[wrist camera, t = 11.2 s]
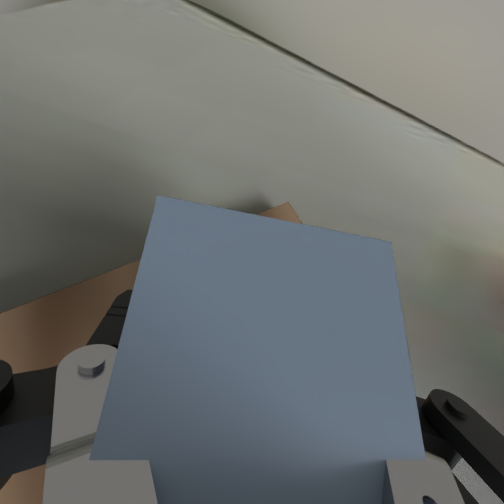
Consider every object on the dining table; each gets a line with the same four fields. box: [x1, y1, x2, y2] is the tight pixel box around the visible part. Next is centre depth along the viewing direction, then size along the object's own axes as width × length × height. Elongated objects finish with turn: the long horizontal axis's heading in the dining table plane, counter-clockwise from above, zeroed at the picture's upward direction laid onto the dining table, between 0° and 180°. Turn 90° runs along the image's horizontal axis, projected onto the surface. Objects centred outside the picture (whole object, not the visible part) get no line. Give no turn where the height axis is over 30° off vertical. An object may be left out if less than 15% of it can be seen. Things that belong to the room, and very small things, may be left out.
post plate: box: [0, 202, 302, 504], centre depth 14 cm, size 20×14×6 cm
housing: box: [89, 195, 426, 504], centre depth 9 cm, size 6×6×10 cm
